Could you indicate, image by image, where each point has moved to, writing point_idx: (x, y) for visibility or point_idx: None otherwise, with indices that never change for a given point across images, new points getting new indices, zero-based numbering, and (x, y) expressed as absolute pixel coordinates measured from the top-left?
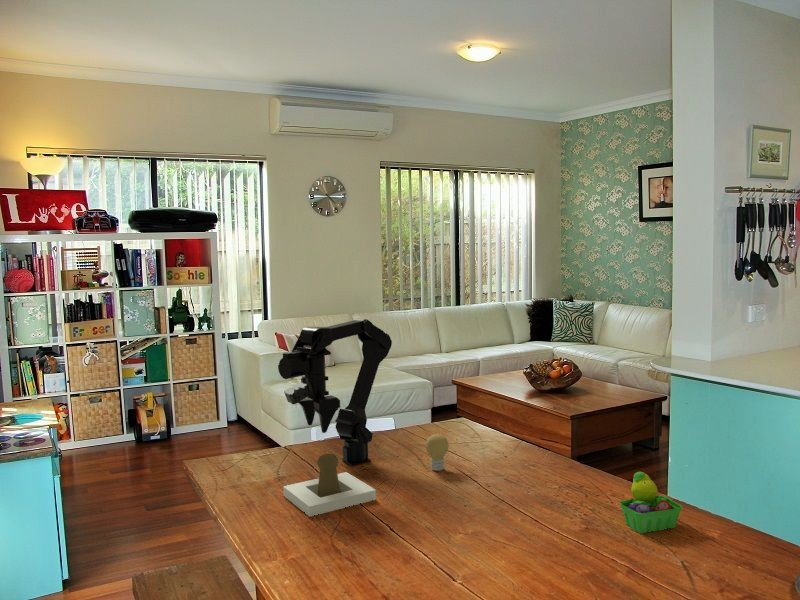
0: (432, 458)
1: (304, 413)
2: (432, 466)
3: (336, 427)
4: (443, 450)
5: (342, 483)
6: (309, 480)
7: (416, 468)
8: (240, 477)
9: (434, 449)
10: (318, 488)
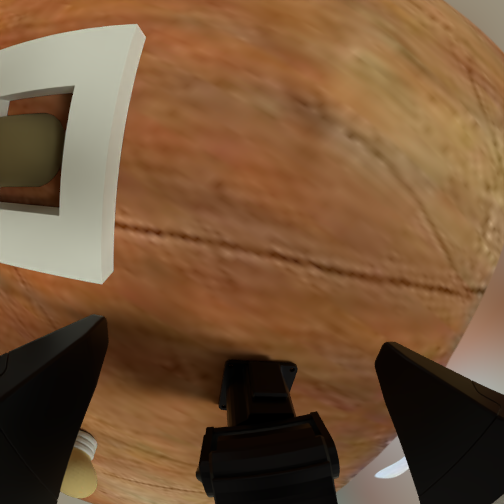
0: (75, 449)
1: (469, 381)
2: (79, 435)
3: (315, 441)
4: None
5: (29, 211)
6: (111, 124)
7: (110, 426)
8: (403, 47)
9: None
10: (26, 114)
